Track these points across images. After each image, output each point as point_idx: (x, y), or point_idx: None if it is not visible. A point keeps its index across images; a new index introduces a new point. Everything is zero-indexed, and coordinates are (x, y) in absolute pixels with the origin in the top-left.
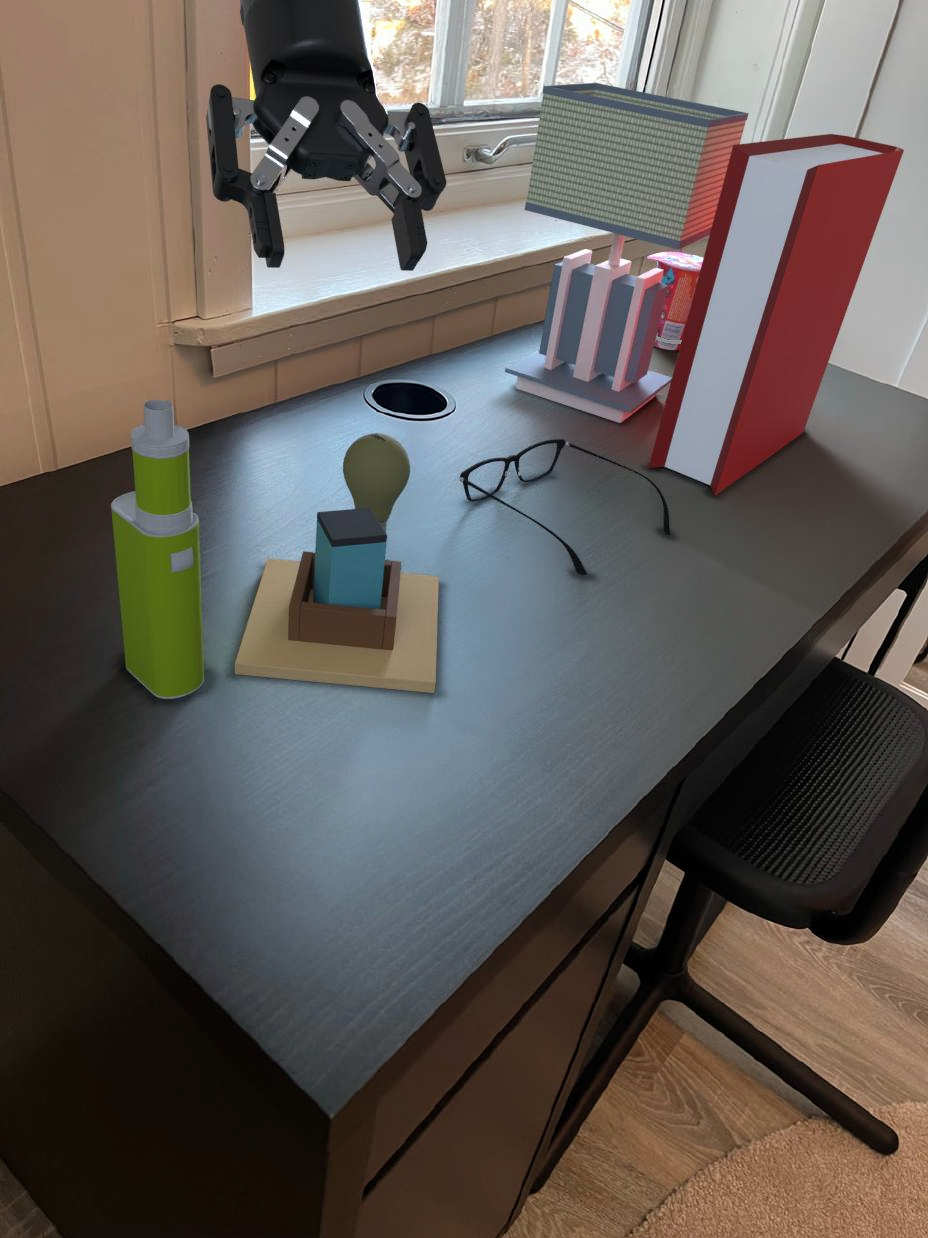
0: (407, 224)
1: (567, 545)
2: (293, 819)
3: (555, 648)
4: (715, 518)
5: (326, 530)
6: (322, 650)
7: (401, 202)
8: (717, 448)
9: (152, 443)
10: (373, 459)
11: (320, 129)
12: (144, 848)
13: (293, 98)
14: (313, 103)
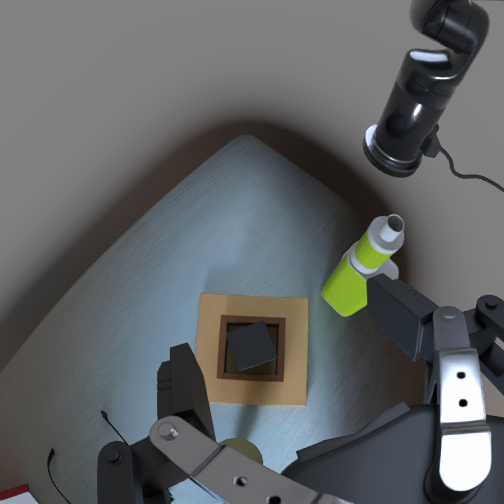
0: (186, 374)
1: (107, 420)
2: (266, 212)
3: (131, 338)
4: (29, 461)
5: (268, 333)
6: (263, 314)
7: (194, 407)
8: (16, 498)
9: (386, 218)
10: (238, 448)
11: (409, 468)
12: (317, 198)
13: (495, 487)
14: (458, 477)
